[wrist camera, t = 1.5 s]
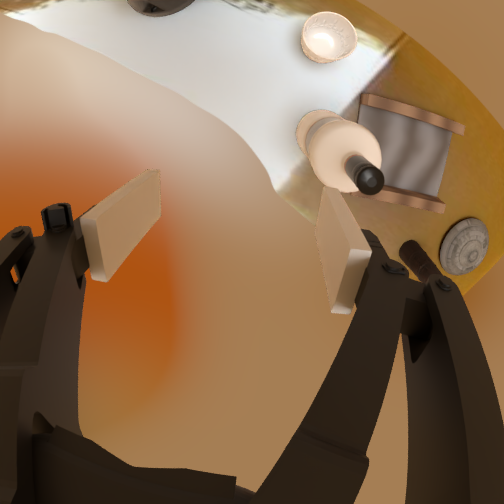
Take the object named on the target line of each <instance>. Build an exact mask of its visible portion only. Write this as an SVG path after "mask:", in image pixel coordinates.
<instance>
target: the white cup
mask: <svg viewBox="0 0 504 504" xmlns="http://www.w3.org/2000/svg"><path fill="white" fill-rule="evenodd" d="M301 43H302V44H301V46H302V49H303V52H304V53H305V55H306V56H307V57H308V58H309V59H311V60H313V61H315V62H317V63H328V62H333V61H336V60H339V59H342V58H345V57H347V56H349V55H350V54H351V53H352V52H353V51H354V49H355V47H356V45H357V33H356V30H355V28H354V26H353V25H352V24H351V23H350V21H348V20H347V19H346V18H345V17H343V16H341V15H339V14H337V13H333V12H319V13H316V14H314V15H312V16H311V17H309V18H308V19H307V20H306V22H305V24H304V26H303V31H302V37H301Z"/></svg>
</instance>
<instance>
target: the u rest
mask: <svg viewBox="0 0 504 504" xmlns="http://www.w3.org/2000/svg"><path fill="white" fill-rule="evenodd" d="M357 124H360V125H362V126H364V127H365V128H367V129H368V130H369V131H370V132H371V133H372V134H373V135H374V136H375V138H376V139H377V141H378V143H379V146H380V150H381V157H382V162H381V168H380V170H381V171H382V173H383V175H384V179H385V183H384V187H383V188H382V190H381V191H380V192H379V193H377V194H376V195H372V196H369V195H365V194H363V193H361V192H360V191H356V192H349V193H350V194H351V195H352V196H358V197H363V198H369V199H374V200H380V201H385V202H390V203H395V204H400V205H405V206H410V207H415V208H419V209H424V210H428V211H433V212H437V213H441V214H443V213H444V210H445V206H446V204H445V203H444V202H442V201H441V200H440V199H439V198H437V194H438V191H439V187H440V183H441V179H442V176H443V172H444V168H445V163H446V159H447V155H448V150H449V145H450V141H451V135H452V132H453V133H456V134H459V135H462V136H463V135H464V129H465V126H464V125H462V124H459V123H457V122H455V121H452V120H450V119H447V118H444V117H442V116H439V115H437V114H434V113H431V112H428V111H425V110H423V109H420V108H417V107H414V106H410V105H407V104H404V103H401V102H398V101H394V100H391V99H387V98H384V97H380V96H376V95H372V94H361V98H360V106H359V112H358V119H357Z"/></svg>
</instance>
